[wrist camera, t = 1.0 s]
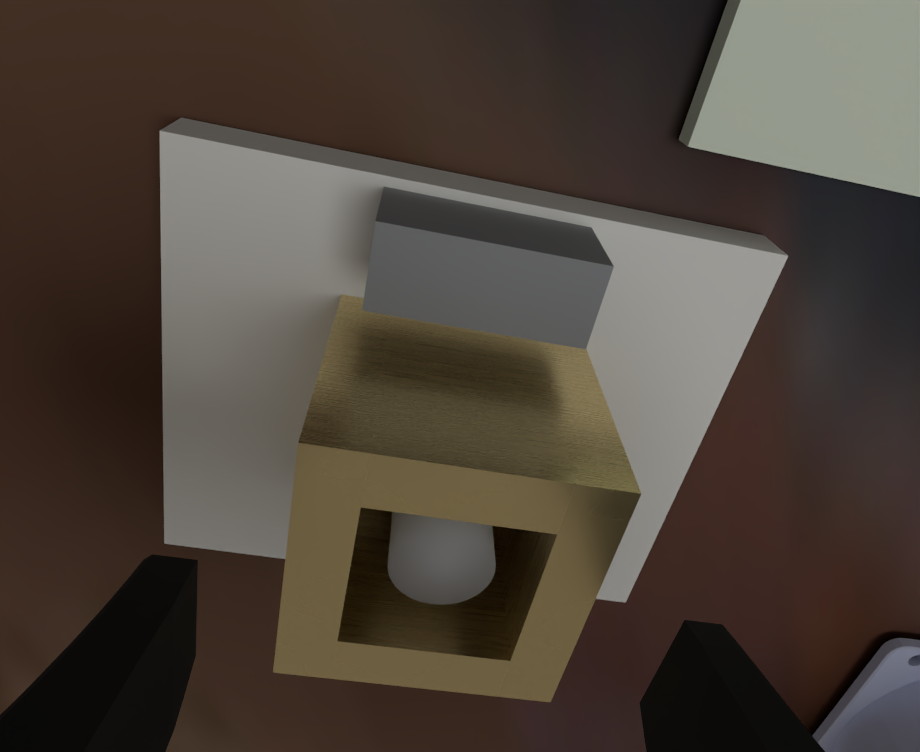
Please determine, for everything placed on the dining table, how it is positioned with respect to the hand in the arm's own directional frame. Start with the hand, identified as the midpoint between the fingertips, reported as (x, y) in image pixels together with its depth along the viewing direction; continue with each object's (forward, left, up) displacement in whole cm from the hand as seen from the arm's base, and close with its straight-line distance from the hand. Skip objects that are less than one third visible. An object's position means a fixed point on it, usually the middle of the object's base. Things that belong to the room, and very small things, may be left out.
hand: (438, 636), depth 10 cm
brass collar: (0, 0, -6) cm, 6 cm away
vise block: (0, 0, -7) cm, 7 cm away
